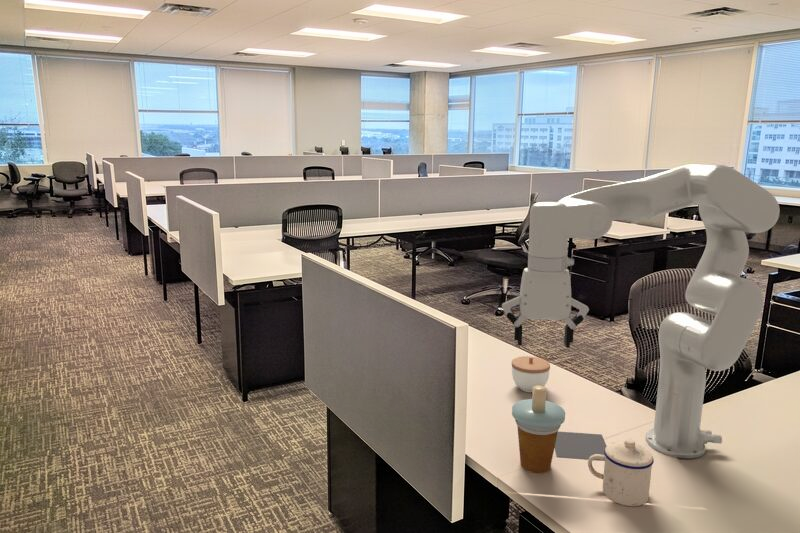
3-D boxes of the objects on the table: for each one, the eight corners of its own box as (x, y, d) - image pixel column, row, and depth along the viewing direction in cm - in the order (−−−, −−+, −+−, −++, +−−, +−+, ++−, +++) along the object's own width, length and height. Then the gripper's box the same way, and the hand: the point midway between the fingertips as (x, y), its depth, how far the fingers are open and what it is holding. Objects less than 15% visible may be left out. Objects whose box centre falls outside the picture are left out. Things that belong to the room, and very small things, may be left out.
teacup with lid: (650, 487, 117) (655, 435, 115) (649, 512, 109) (654, 457, 107) (588, 473, 122) (592, 423, 120) (583, 497, 114) (587, 443, 112)
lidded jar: (503, 383, 169) (505, 352, 167) (536, 378, 172) (537, 349, 170) (522, 398, 159) (523, 366, 157) (556, 393, 162) (558, 361, 160)
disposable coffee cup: (559, 481, 119) (562, 428, 117) (512, 476, 121) (515, 423, 119) (556, 457, 129) (559, 407, 126) (513, 452, 130) (515, 403, 128)
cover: (560, 405, 127) (562, 379, 126) (568, 429, 117) (570, 400, 115) (510, 402, 128) (511, 376, 127) (513, 426, 118) (515, 398, 117)
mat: (601, 436, 138) (601, 434, 138) (612, 462, 126) (612, 461, 126) (550, 432, 140) (550, 430, 140) (556, 458, 128) (556, 456, 128)
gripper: (588, 261, 118) (583, 340, 122) (502, 259, 120) (500, 336, 124) (595, 268, 111) (589, 352, 114) (504, 266, 113) (501, 348, 117)
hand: (542, 344), depth 119 cm, fingers open, 9 cm apart
